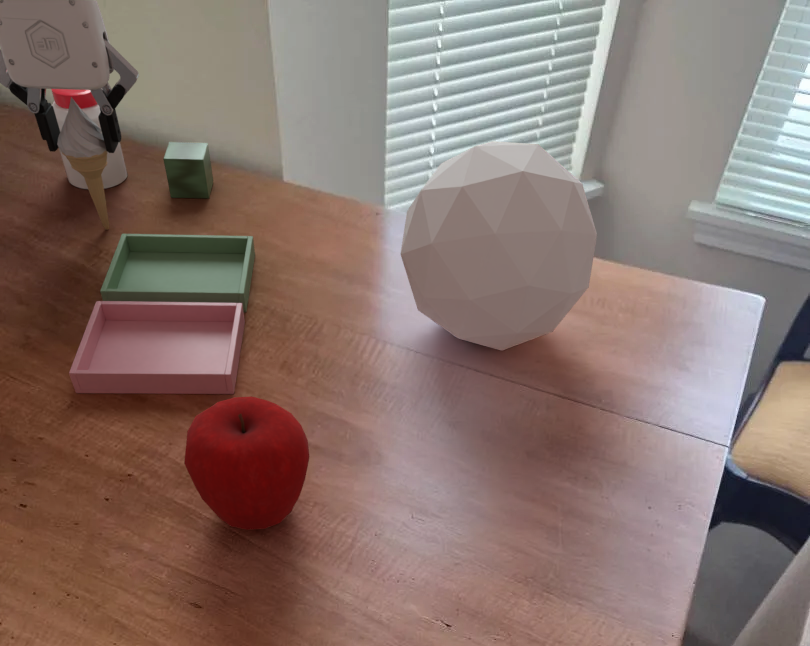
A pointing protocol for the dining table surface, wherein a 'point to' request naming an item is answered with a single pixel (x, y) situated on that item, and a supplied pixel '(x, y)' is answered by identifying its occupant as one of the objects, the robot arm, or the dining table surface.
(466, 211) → the ball
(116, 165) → the pill bottle
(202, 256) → the green tray
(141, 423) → the dining table surface
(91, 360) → the pink tray
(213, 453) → the apple
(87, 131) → the ice cream cone
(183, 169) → the green block
